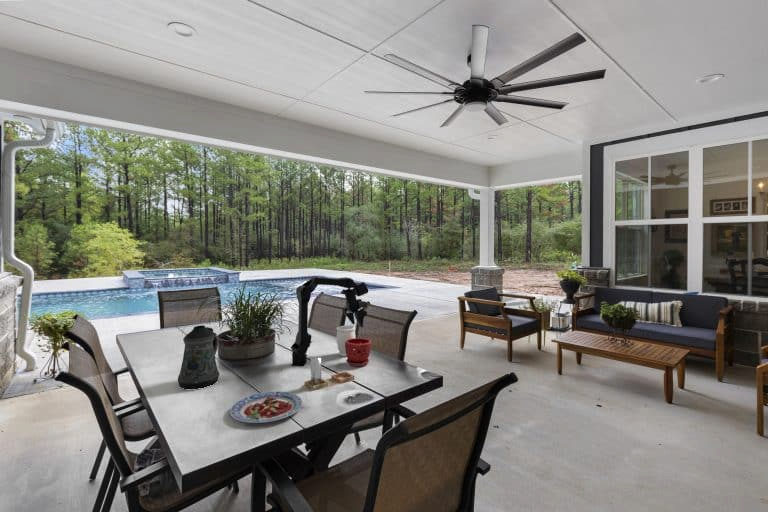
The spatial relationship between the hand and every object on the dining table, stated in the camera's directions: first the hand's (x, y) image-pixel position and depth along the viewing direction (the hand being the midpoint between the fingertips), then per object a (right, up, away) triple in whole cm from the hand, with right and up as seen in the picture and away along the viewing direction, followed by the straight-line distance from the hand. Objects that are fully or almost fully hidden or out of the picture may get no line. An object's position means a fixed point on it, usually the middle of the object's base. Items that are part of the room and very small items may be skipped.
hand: (357, 325), depth 211 cm
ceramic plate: (-29, -19, -70) cm, 78 cm away
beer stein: (-68, -18, -42) cm, 82 cm away
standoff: (-15, -17, -48) cm, 53 cm away
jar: (-6, -16, -2) cm, 17 cm away
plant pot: (+1, -16, -17) cm, 24 cm away
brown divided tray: (-9, -17, -44) cm, 49 cm away
